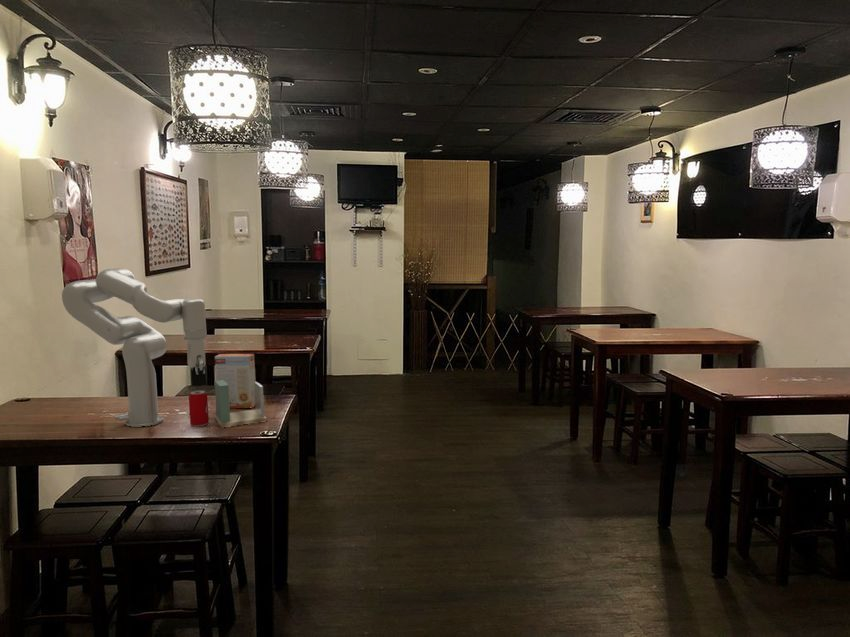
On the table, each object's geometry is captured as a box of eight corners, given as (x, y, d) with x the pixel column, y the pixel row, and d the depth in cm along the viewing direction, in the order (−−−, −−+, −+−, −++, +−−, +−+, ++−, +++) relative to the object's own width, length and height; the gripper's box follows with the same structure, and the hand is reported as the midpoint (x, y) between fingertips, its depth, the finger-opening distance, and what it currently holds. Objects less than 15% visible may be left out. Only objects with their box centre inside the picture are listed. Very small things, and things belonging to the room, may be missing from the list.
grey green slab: (221, 422, 228) (219, 386, 227) (216, 415, 237) (214, 380, 236) (230, 421, 230) (228, 385, 228) (224, 414, 239) (223, 379, 237)
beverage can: (211, 422, 234) (209, 389, 232) (205, 427, 228) (203, 393, 226) (194, 422, 234) (192, 389, 233) (187, 427, 228) (185, 393, 226)
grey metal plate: (261, 416, 235) (260, 386, 234) (255, 411, 243) (254, 382, 242) (264, 416, 236) (262, 386, 234) (258, 410, 244) (257, 381, 242)
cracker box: (257, 405, 258) (255, 353, 255) (251, 409, 252) (249, 356, 249) (223, 404, 259) (220, 353, 257) (216, 408, 253) (214, 355, 251)
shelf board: (221, 428, 227) (221, 424, 226) (214, 418, 239) (213, 414, 239) (267, 421, 234) (267, 417, 234) (257, 412, 246) (257, 409, 246)
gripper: (180, 333, 233) (184, 380, 235) (187, 338, 218) (191, 388, 220) (202, 331, 236) (205, 377, 238) (210, 336, 221) (214, 385, 223)
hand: (198, 382), depth 229 cm, fingers open, 9 cm apart
